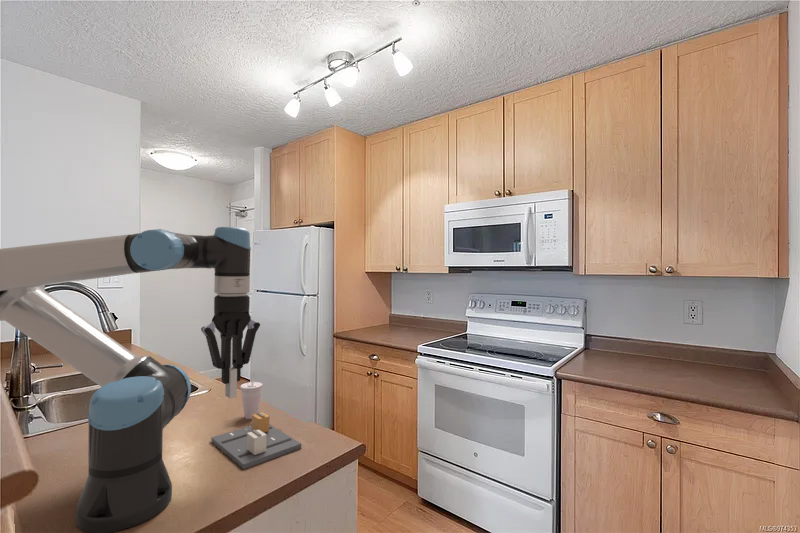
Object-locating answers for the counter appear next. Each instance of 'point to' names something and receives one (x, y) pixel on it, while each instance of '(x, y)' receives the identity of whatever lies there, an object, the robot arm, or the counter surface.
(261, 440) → the cream fader
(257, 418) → the orange fader
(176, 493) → the counter surface
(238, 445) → the fader board
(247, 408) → the smoothie
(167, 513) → the counter surface
